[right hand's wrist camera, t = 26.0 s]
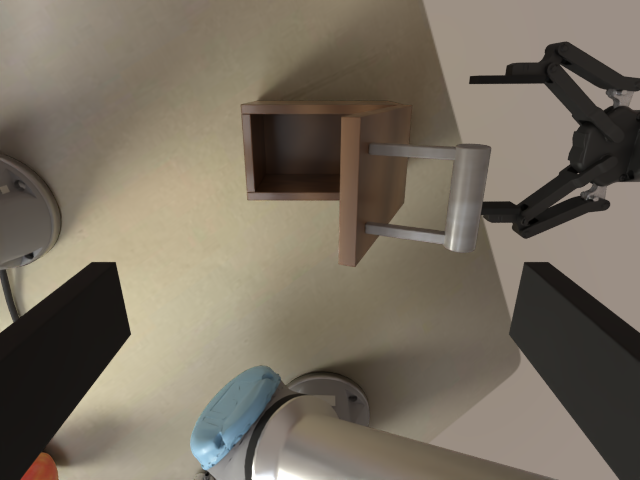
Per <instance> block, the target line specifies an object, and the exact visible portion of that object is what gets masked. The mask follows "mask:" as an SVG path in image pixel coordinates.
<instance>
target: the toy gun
mask: <svg viewBox="0 0 640 480" xmlns="http://www.w3.org/2000/svg"><path fill="white" fill-rule="evenodd" d="M194 480H214V478H213V477H212V476H211V475H210V473H209V472H208V471H206V472H205V474H204V473H198V474H196V475H195V478H194Z"/></svg>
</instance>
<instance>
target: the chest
mask: <svg viewBox="0 0 640 480" xmlns="http://www.w3.org/2000/svg"><path fill="white" fill-rule="evenodd" d="M396 105H403V104H399V103H395V102H390V101H254V102H249V103H245V104H241V113H242V129H243V143H244V157H245V172H246V186H247V200H340V164H341V117H342V116H347V115H352V114H357V113H362V112H367V111H372V110H377V109H382V108H387V107H392V106H396Z"/></svg>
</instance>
